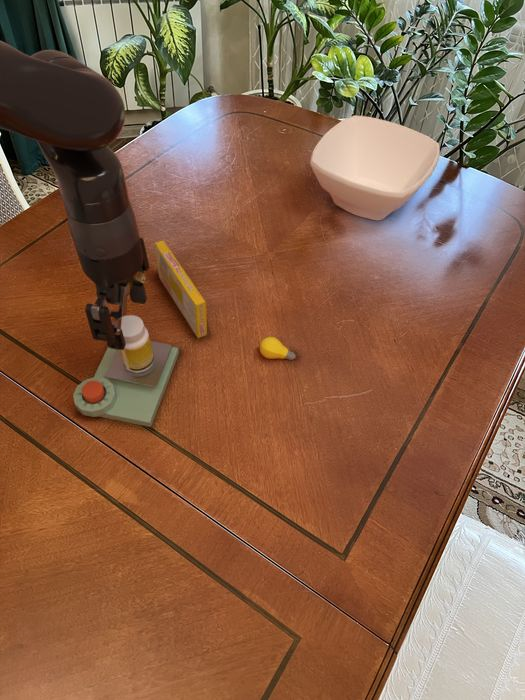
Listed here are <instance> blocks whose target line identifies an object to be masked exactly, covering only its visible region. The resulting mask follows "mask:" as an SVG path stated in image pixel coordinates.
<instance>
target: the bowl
mask: <svg viewBox="0 0 525 700" xmlns="http://www.w3.org/2000/svg"><path fill="white" fill-rule="evenodd" d="M440 149H441V148H440V144H439V142H437V141H435V140H434V139H433V138H431V137H430V136H428V135H426V134H424V133H421V132H419V131H417V130H415V129H412V128H409V127H407V126H404V125H402V124H399V123H395V122H392V121H388V120H384V119H380V118H377V117H376V118H375V117H372V116H365V115H356V114H355V115H354V114H353V115H352V116H350V117H349V116H348V117H346V118H345V119H343V120H341V121H340V122H338V123H337V124H335V125H333V127H332V128H330V129H329V130H328V131H327V132H326V133H325V134H324V135H323V136H322V137H321V139H320V140H319V141H318V143H316V145H315V147H314V149H312V152H311V155H310V161H309V166H310V167H311V169H312V172H313V173H314V176H315V177H316V180H317V181H318V183H319V185H320V187H321V188H322V189H323V190H325V192H326V193H329V195H330V197H331V199H332V201H333V203H334V204H335V205H336V206H338V207H339V208H341V209H342V210H344V211H346V212H348V213H349V214H353V215H355V216H357V217H360V218H364V219H369V220H373V221H382V220H384V219H385V218H386V217H387V216H390V214H391V213H392V212H394V211H397V210H398V209H400V208H401V207H403V206H404V205H405V204H406V203H407V202H408V201H409V200H410V199H411V198H412V197H413V196H414V195H415V194H416V193H417V192H418V191H419V190H420V188H422V186H424V184H425V183H426V182H427V181H428V180H429V179H430V178H431V176H432V175H433V173H434V171H435V169H436V167H437V166H438V163H439V160H440V155H441V154H440V153H441V151H440Z"/></svg>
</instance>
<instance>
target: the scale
mask: <svg viewBox="0 0 525 700" xmlns="http://www.w3.org/2000/svg"><path fill="white" fill-rule="evenodd" d="M116 351H117V350H116V349H111V348H109V347H108V346H107V348H106V350H105V352H104V355H103V357H102V359H101V361H100V363H99V365H98V367H97V369H96V371H95V373H94V375H93V377H90V378H86V379H84V380H83V381H82V382H80V383H79V384H78V385H77V386H76V388H75V390H74V392H73V394H72V397H73V403H74V405H75V408H76V409H77V411H79V412H80V414H82V415H83V416H86V417H92V418H96V417H98V418H99V417H100V418H103V419H104V418H105V419H109V420H114V421H118V422H124V423H128V424H133V425H138V426H143V427H148V428H152V425H153V423H154V421H155V417H156V415H157V413H158V409H159V407H160V405H161V403H162V400H163V397H164V394H165V391H166V389H167V386H168V384H169V381H170V378H171V376H172V374H173V371H174V368H175V366H176V363H177V360H178V358H179V355H180V350H179V347H176V346H172V348H171V351H170V353H169V356H168V359H167V361H166V364H165V366H164V369H163V371H162V374H161V376H160V379H159V381H158V384H157V386H156V388H155V387H150V386H145V385H140V384H135V383H130V382H124V381H119V380H114V379H109V378H105V375H106V373H107V371H108V369H109V366H110V364H111V362H112V360H113V358H114V356H115V354H116ZM90 381H98V382H100V383H101V384H102V386H103V389H104V391H105V396H104V398H103V399H102V400H101V401H100V402H98V403H88V402H87V401H86V400H85V398H84V396H83V394H82V388H83V386H84V385H85V384H86V383H88V382H90Z"/></svg>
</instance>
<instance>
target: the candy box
mask: <svg viewBox="0 0 525 700" xmlns="http://www.w3.org/2000/svg"><path fill="white" fill-rule="evenodd" d="M154 249H155V250H154V251H155V256H156V263H157V271H158V278H159V279H160V281H161V283H162V284H163V286H164V288H165V289H166V291H167V292H168V294H169V296H170V297H171V299H172V301H173V302H174V303H175V305H176V306H177V308H178V310H179V311H180V313H181V314H182V316H183V318H184V319H185V321H186V322H187V324H188V326H189V327H190V329H191V330H192V332H193V334H194V335H195V336H196V338H197V339H201V338H203V337H206V336H207V335H208V326H207V324H208V323H207V321H208V320H207V302H206V300H205V299H204V297H203V295H201V293H200V292H199V290H198V289H197V287H196V286H195V284H194V283H193V281H192V280H191V278H190V277H189V276H188V274H187V272H186V271H185V270H184V268H183V267H182V264H180V262H179V261H178V259H177V258H176V256H175V255H174V254H173V252H172V251H171V249H170V248H169V246H168V245H167V244H166V242H165V241H164V239H162V240H159V241H155V242H154Z"/></svg>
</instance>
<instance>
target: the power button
mask: <svg viewBox="0 0 525 700" xmlns="http://www.w3.org/2000/svg"><path fill="white" fill-rule="evenodd" d="M82 394H83V396H84V398H85V400H86V401H87V402H88V403H98V402H100V401H101V400H102V399H103V398H104V396H105V391H104V389H103V386H102V384H101V383H100V382H98V381H90V382H88V383H86V384H85V385H84V386H83V388H82Z"/></svg>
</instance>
